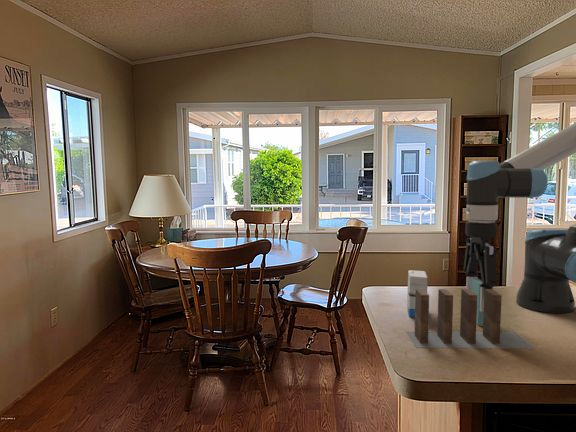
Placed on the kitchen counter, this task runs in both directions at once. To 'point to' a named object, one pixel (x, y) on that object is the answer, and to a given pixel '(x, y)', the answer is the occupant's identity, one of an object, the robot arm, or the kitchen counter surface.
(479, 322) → the teal tile
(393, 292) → the kitchen counter surface
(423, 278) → the ink box
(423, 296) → the tile
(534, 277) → the robot arm
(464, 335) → the tile
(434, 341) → the mat
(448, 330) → the tile
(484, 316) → the tile
